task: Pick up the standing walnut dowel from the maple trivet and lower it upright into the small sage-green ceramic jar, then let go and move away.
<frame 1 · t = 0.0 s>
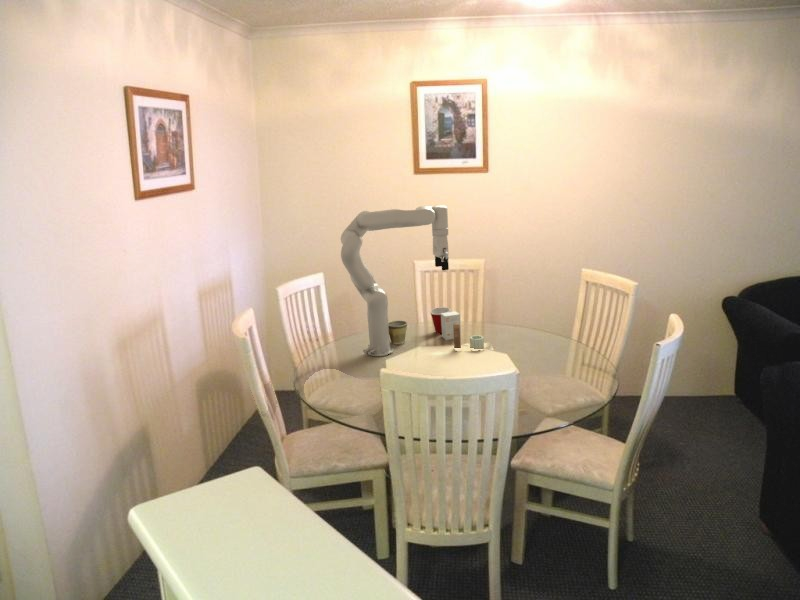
hand: (441, 268, 307), 37 cm above the table, tool pointing down, fingers open, 9 cm apart
trivet: (472, 348, 305), on the table
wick: (457, 348, 304), point 1 cm above the table, touching trivet
ceramic cup: (398, 342, 322), on the table
small box: (451, 339, 322), on the table
plastic cup: (441, 332, 333), on the table
jar: (477, 347, 304), resting on trivet
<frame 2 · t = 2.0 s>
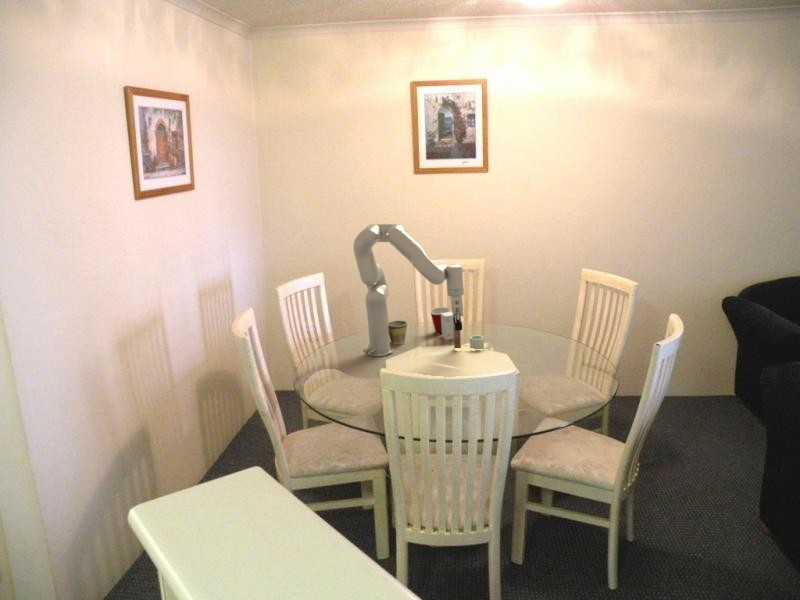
hand: (457, 327, 301), 11 cm above the table, tool pointing down, fingers open, 9 cm apart
nothing on the table moved.
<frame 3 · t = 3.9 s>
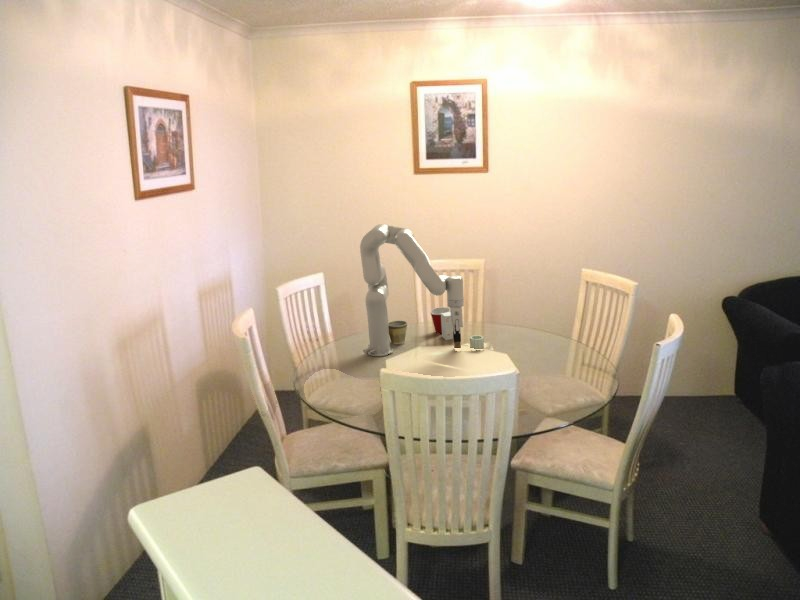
hand: (457, 340, 303), 5 cm above the table, tool pointing down, fingers closed on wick, 3 cm apart
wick: (457, 348, 304), point 1 cm above the table, touching gripper, trivet
everything else where it was.
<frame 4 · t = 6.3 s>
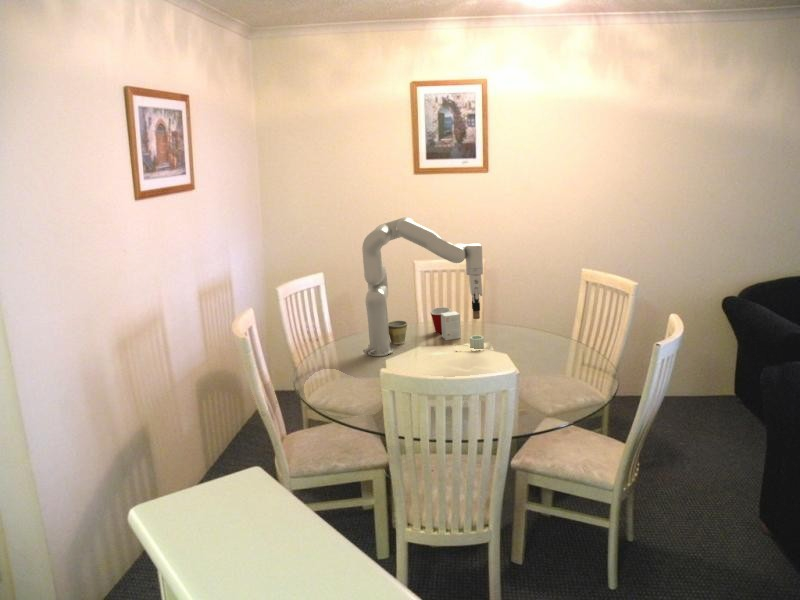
hand: (476, 309, 299), 19 cm above the table, tool pointing down, fingers closed on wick, 3 cm apart
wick: (476, 318, 300), point 15 cm above the table, touching gripper
everything else where it was.
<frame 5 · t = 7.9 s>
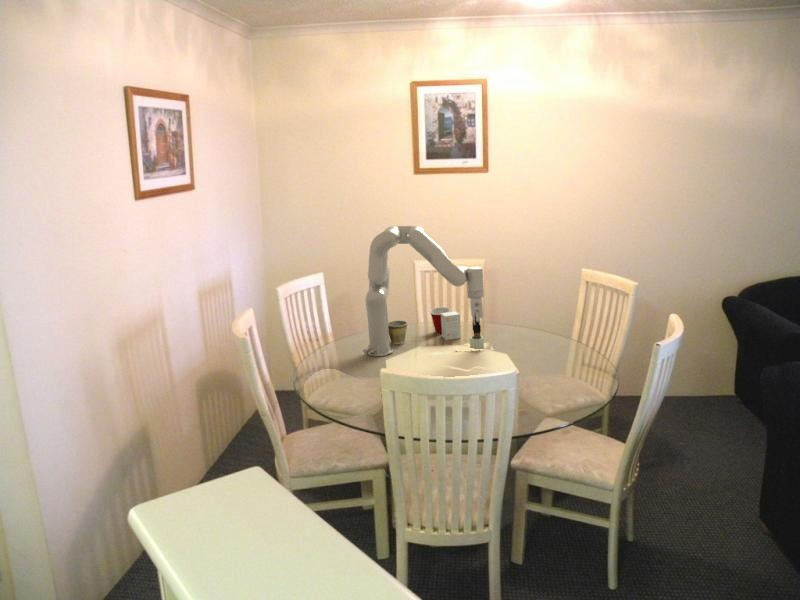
hand: (476, 331, 302), 9 cm above the table, tool pointing down, fingers closed on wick, 3 cm apart
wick: (477, 339, 303), point 5 cm above the table, touching gripper
everything else where it was.
when the fingers open (7 cm above the table, at t = 9.0 s): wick drops 1 cm, resting on jar.
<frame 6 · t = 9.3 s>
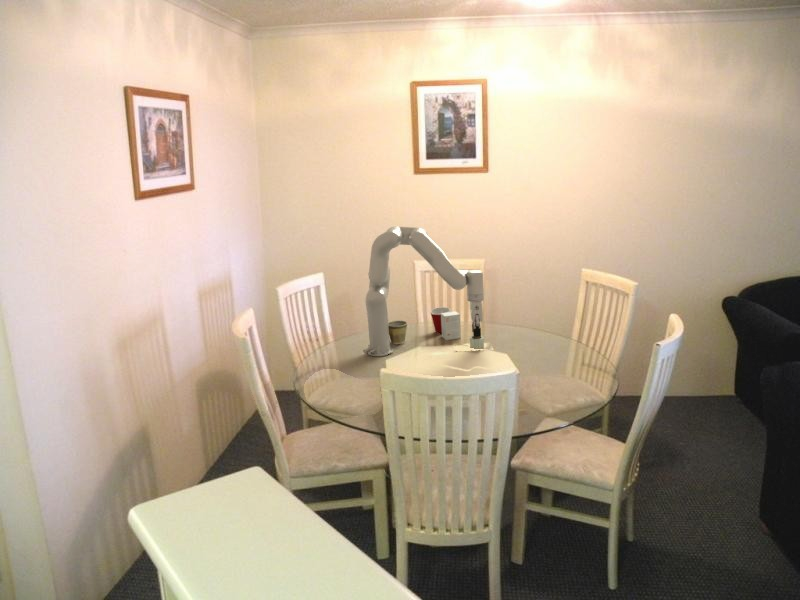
hand: (476, 333, 302), 8 cm above the table, tool pointing down, fingers open, 6 cm apart
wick: (477, 346, 304), point 1 cm above the table, touching jar
everything else where it was.
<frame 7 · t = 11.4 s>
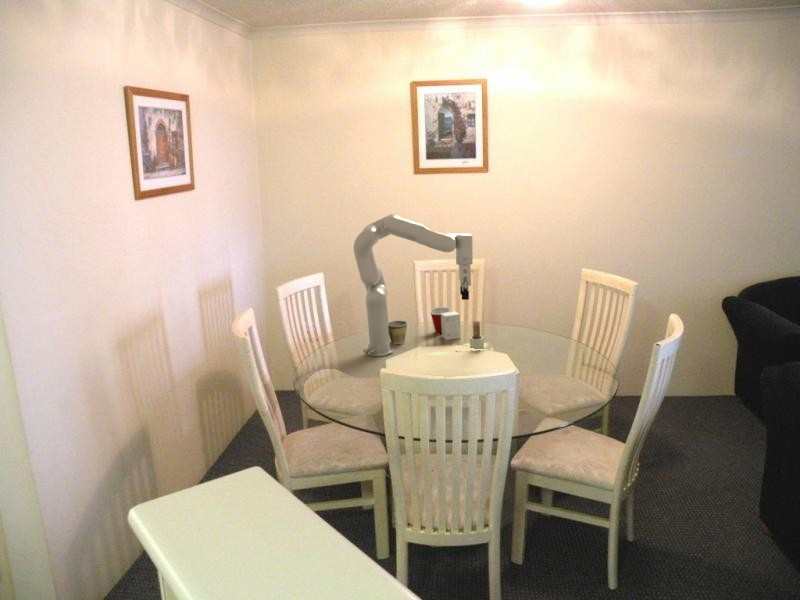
hand: (464, 296, 301), 25 cm above the table, tool pointing down, fingers open, 9 cm apart
nothing on the table moved.
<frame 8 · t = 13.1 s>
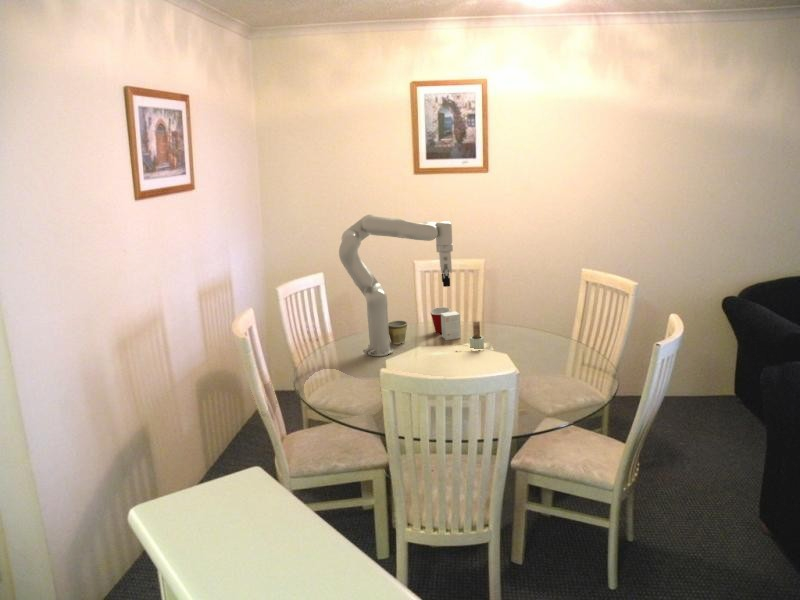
hand: (446, 284, 305), 30 cm above the table, tool pointing down, fingers open, 9 cm apart
nothing on the table moved.
at the end: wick 0.0 cm off-centre on the jar, point 0.6 cm above the jar's base; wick tilted 0°; the gripper is holding nothing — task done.
